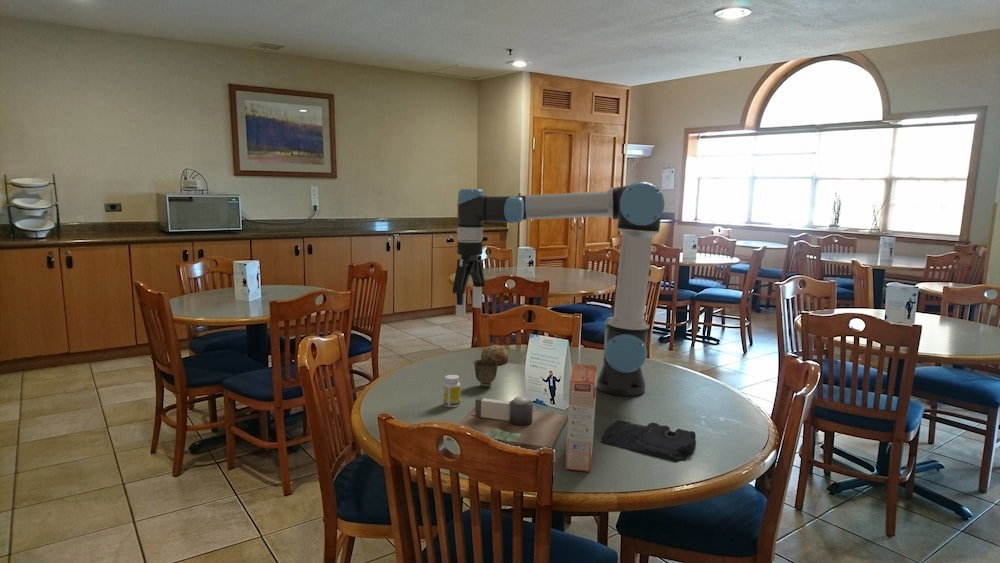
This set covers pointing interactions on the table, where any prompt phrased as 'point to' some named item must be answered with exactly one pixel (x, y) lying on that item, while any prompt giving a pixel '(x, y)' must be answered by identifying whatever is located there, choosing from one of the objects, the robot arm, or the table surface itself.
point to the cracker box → (581, 417)
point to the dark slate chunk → (651, 440)
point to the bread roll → (495, 354)
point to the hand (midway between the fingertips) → (469, 311)
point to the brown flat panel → (520, 429)
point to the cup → (485, 372)
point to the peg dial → (505, 410)
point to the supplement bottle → (451, 391)
